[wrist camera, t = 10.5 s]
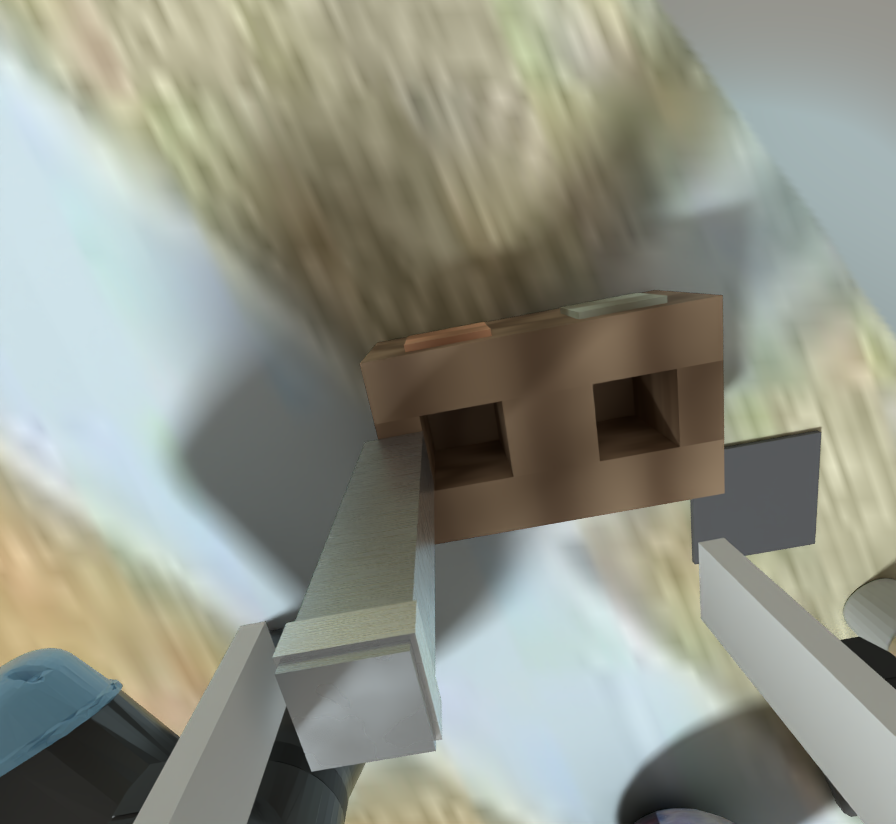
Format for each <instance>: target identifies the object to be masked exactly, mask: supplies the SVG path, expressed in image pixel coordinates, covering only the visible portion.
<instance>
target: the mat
mask: <svg viewBox="0 0 896 824" xmlns="http://www.w3.org/2000/svg"><path fill="white" fill-rule="evenodd" d="M820 443H821V432H819V431H812V432H807V433H801V434H796V435H790V436H785V437H779V438H773V439H768V440H762V441H757V442H751V443H745V444H740V445H734V446H729V447H724V484H725V493H724V494H718V495H712V496H707V497H701V498H695V499H690V500H691V530H692V560H693V563H694V564H699V545H698V543H699V542H704V541H710V540H715V539H720V538H725V539H726V540H727V541H728V542H729V543H730V544H732V545H733V546H734V547H735V548H736V549H737V550H738V551H740V552H741V553H742V554H743V555H744V556H746V555H752V554H758V553H764V552H770V551H775V550H781V549H787V548H793V547H799V546H804V545H810V544H815V533H816V515H817V497H818V479H819V461H820Z"/></svg>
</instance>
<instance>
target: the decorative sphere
mask: <svg viewBox="0 0 896 824" xmlns="http://www.w3.org/2000/svg"><path fill="white" fill-rule="evenodd" d="M634 824H735V823H733V822H731V821H729V820H727V819H725V818H724V817H721V816H718V815H715V814H711V813H708V812H704V811H700V810H696V809H681V808H669V809H665V810H660V811H655V812H653V813H651V814H648V815H646V816H644V817H642V818H641V819H639V820H638V821H637V822H635V823H634Z"/></svg>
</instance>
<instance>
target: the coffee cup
mask: <svg viewBox="0 0 896 824" xmlns="http://www.w3.org/2000/svg"><path fill="white" fill-rule="evenodd" d="M843 612H844V618H845V621H846V623H847V624H848V626H849V627H850V628H851V629H852V630H853V631H854V632H855V633H856V634H857V635H858V636H859V637H862V638H863V639H865V640H867V641H869V642H871V643H873V644H875V645H877V646H879V647H881V648H883V649H885V650H886V651H888V652H890V653H892V654H893V655H894V656H895V657H896V580H894V579H888V578H885V579H878V580H874V581H871V582H869V583H867V584H865V585H863V586H862V587H860V588H859V589H857V590H856V591H855V592H854V593H853V594H852V595H851V596H850V597H849V599H848V600H847V602H846V604H845V606H844V611H843Z"/></svg>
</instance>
